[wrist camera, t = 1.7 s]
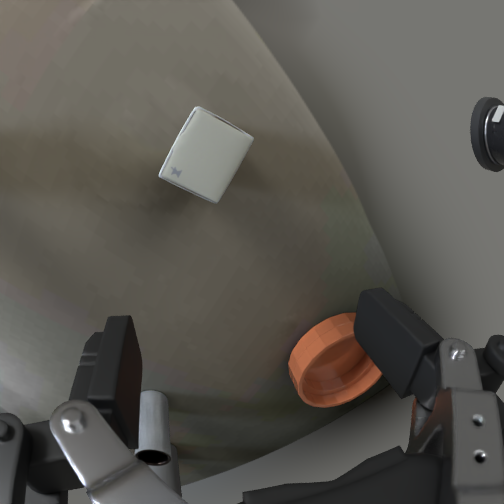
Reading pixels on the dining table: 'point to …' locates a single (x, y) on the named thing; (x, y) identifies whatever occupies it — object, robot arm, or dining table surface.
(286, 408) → the dining table surface
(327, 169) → the dining table surface
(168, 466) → the bottle
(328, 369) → the bowl
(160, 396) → the grey tube
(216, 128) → the box
